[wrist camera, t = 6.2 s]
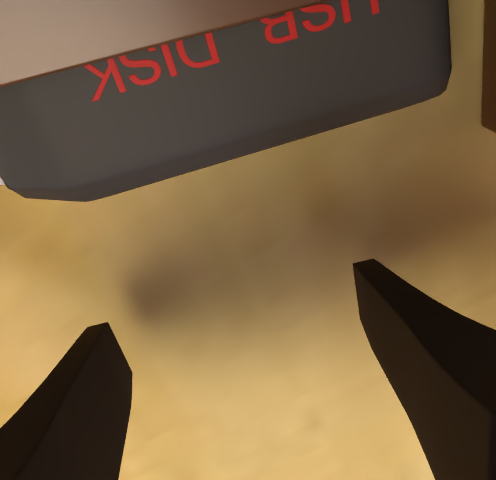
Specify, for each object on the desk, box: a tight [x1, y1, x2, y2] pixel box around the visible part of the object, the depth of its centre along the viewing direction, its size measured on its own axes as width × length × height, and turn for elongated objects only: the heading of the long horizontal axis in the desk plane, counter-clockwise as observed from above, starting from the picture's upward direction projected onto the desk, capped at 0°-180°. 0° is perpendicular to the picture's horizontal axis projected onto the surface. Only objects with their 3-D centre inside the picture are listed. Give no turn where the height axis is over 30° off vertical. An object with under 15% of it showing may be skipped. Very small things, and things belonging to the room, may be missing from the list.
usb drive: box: [0, 0, 452, 202], centre depth 10 cm, size 5×12×3 cm, turn 106°
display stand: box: [0, 0, 496, 133], centre depth 9 cm, size 8×17×6 cm, turn 103°
